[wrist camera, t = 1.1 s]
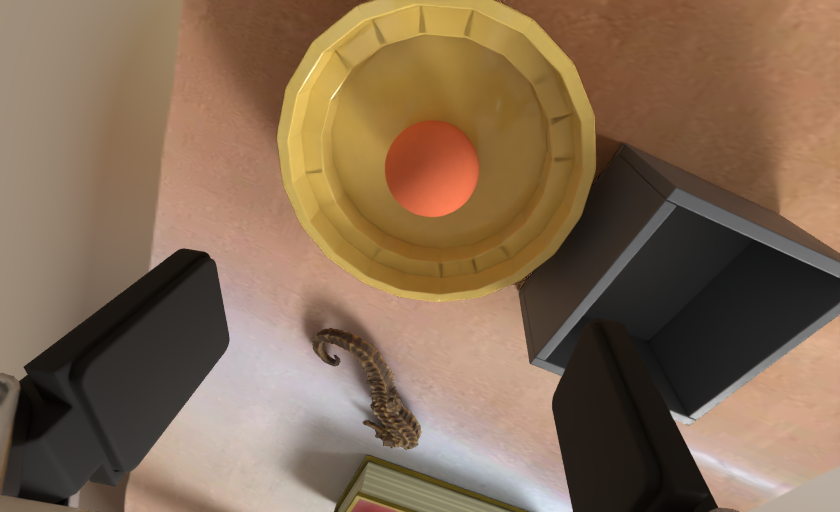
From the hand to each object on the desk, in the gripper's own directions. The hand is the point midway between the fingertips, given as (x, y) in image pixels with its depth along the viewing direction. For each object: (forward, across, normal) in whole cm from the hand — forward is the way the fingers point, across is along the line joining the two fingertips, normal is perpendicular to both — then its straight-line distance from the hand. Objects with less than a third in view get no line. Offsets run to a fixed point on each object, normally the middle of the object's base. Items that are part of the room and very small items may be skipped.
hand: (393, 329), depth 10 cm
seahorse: (+15, +3, +21) cm, 26 cm away
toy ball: (+14, 0, 0) cm, 14 cm away
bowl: (+15, 0, 0) cm, 15 cm away
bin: (+15, -13, +4) cm, 20 cm away
